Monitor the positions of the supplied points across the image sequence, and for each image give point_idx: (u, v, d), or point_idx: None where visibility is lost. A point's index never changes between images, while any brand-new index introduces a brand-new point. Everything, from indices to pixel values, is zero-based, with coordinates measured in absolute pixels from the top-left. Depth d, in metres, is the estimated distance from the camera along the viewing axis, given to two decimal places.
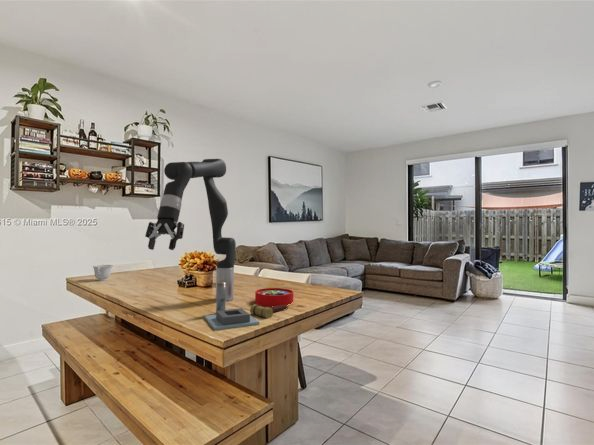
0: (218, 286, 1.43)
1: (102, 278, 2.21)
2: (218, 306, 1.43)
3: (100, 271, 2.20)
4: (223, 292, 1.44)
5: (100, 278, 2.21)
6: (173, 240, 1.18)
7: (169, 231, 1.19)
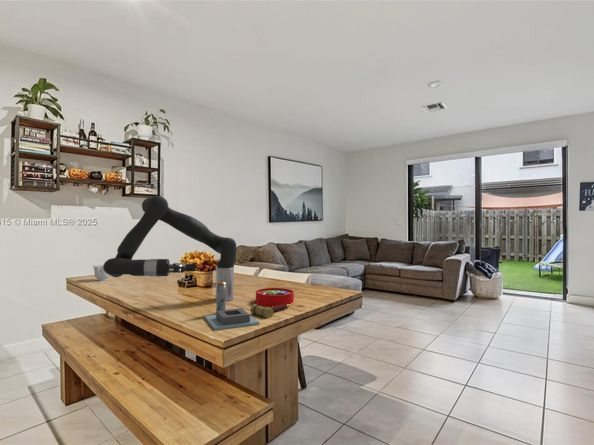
0: (218, 286, 1.43)
1: (102, 278, 2.21)
2: (218, 306, 1.43)
3: (100, 271, 2.20)
4: (223, 292, 1.44)
5: (100, 278, 2.21)
6: (187, 270, 1.37)
7: None
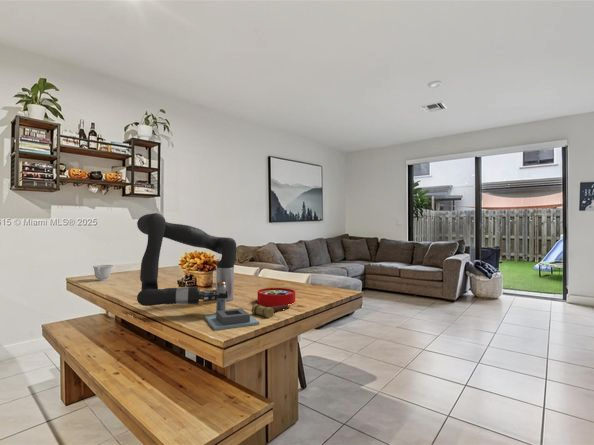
0: (218, 286, 1.43)
1: (102, 278, 2.21)
2: (218, 306, 1.43)
3: (100, 271, 2.20)
4: (223, 292, 1.44)
5: (100, 278, 2.21)
6: (220, 297, 1.42)
7: (211, 299, 1.42)
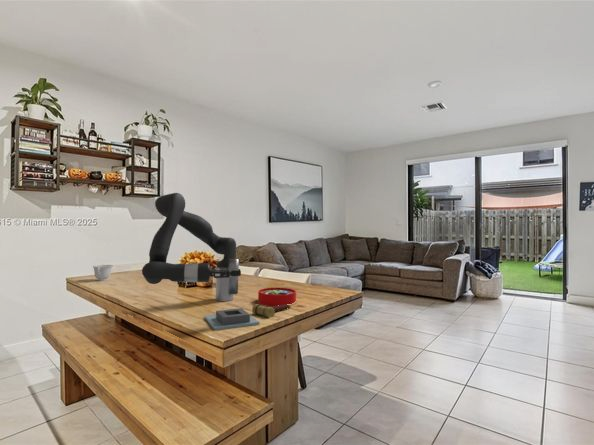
0: (230, 263, 1.31)
1: (102, 278, 2.21)
2: (230, 285, 1.30)
3: (100, 271, 2.20)
4: (236, 269, 1.31)
5: (100, 278, 2.21)
6: (232, 275, 1.29)
7: None
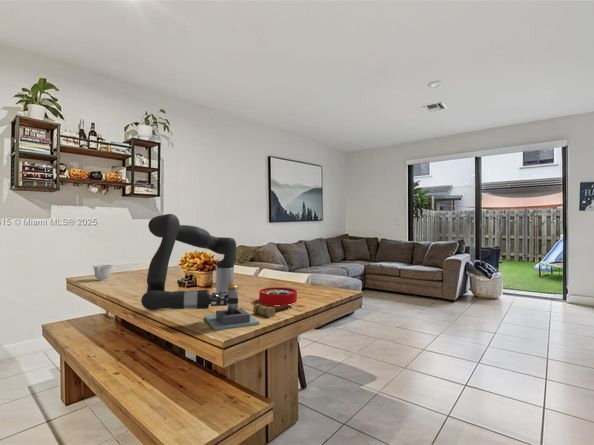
0: (229, 290, 1.31)
1: (102, 278, 2.21)
2: (229, 312, 1.30)
3: (100, 271, 2.20)
4: (235, 296, 1.31)
5: (100, 278, 2.21)
6: (229, 303, 1.27)
7: None
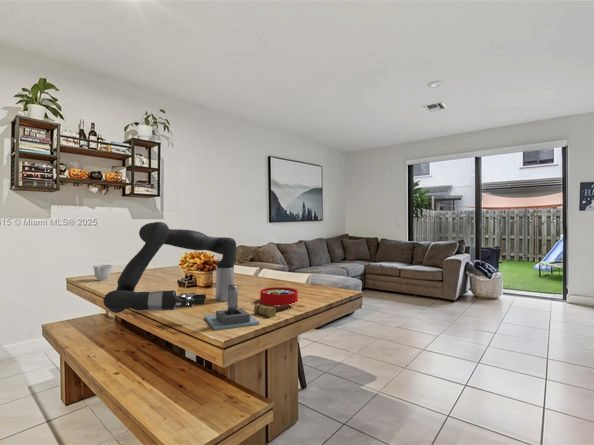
0: (229, 290, 1.30)
1: (102, 278, 2.21)
2: (229, 312, 1.30)
3: (100, 271, 2.20)
4: (235, 296, 1.31)
5: (100, 278, 2.21)
6: (195, 304, 1.24)
7: None
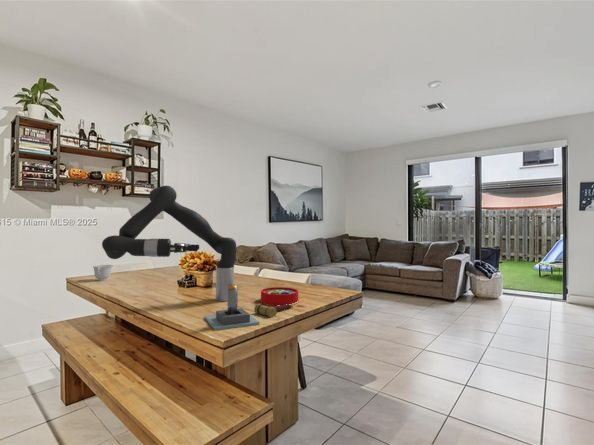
0: (229, 290, 1.31)
1: (102, 278, 2.21)
2: (229, 312, 1.30)
3: (100, 271, 2.20)
4: (235, 296, 1.31)
5: (100, 278, 2.21)
6: (189, 250, 1.31)
7: (181, 252, 1.32)
